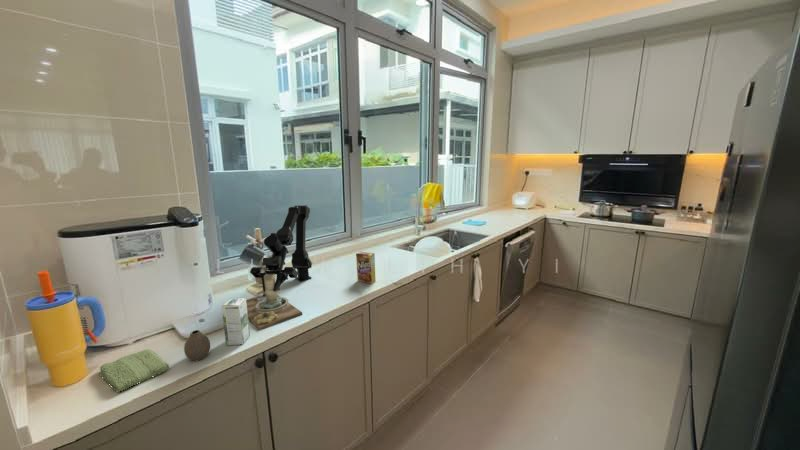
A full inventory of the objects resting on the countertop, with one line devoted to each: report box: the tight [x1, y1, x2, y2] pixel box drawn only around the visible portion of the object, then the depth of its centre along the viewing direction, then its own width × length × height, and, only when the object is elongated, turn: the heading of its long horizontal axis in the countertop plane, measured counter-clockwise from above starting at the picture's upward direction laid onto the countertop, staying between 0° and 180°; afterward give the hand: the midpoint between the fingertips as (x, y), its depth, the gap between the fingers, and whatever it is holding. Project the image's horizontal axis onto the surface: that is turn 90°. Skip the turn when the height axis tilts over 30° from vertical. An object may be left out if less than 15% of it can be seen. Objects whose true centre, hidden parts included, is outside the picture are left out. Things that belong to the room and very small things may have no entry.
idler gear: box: [261, 274, 282, 309], centre depth 128 cm, size 8×8×13 cm
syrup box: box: [221, 297, 250, 346], centre depth 105 cm, size 6×6×14 cm
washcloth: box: [98, 348, 170, 393], centre depth 91 cm, size 13×18×3 cm
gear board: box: [246, 292, 303, 331], centre depth 129 cm, size 30×17×3 cm, turn 44°
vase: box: [183, 329, 211, 362], centre depth 97 cm, size 7×7×9 cm
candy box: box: [355, 250, 376, 284], centre depth 157 cm, size 9×4×15 cm, turn 64°
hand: (269, 291), depth 127 cm, fingers closed on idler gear, 4 cm apart
